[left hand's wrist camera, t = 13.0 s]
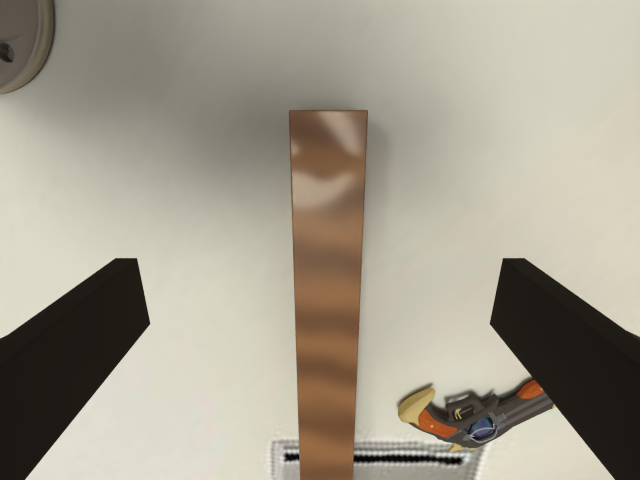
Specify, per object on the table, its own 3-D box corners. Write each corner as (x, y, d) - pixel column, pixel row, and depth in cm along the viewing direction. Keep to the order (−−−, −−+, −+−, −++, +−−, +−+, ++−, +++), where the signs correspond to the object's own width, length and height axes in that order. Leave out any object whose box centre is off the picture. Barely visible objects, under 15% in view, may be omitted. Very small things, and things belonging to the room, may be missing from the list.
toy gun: (395, 417, 39) (438, 479, 41) (549, 335, 37) (587, 404, 38) (391, 401, 42) (431, 460, 43) (534, 324, 40) (570, 389, 41)
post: (297, 112, 31) (288, 110, 24) (357, 112, 31) (368, 110, 24) (308, 616, 57) (306, 688, 50) (341, 616, 57) (343, 689, 50)
